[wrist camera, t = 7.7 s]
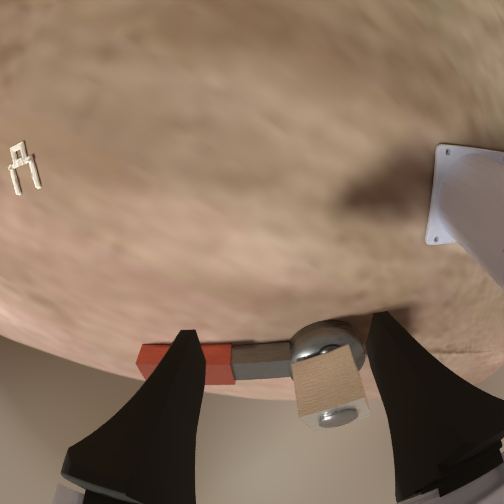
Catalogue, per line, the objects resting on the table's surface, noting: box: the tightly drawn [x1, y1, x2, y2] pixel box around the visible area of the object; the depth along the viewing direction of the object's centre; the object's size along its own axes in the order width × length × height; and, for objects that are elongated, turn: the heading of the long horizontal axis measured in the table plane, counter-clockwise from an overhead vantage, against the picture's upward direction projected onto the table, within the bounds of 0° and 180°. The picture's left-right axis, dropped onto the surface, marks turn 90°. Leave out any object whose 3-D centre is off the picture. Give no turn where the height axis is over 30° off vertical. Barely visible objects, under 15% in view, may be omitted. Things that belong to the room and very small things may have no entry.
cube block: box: [291, 344, 371, 432], centre depth 21 cm, size 5×5×5 cm
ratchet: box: [136, 320, 365, 385], centre depth 24 cm, size 21×7×5 cm, turn 96°
